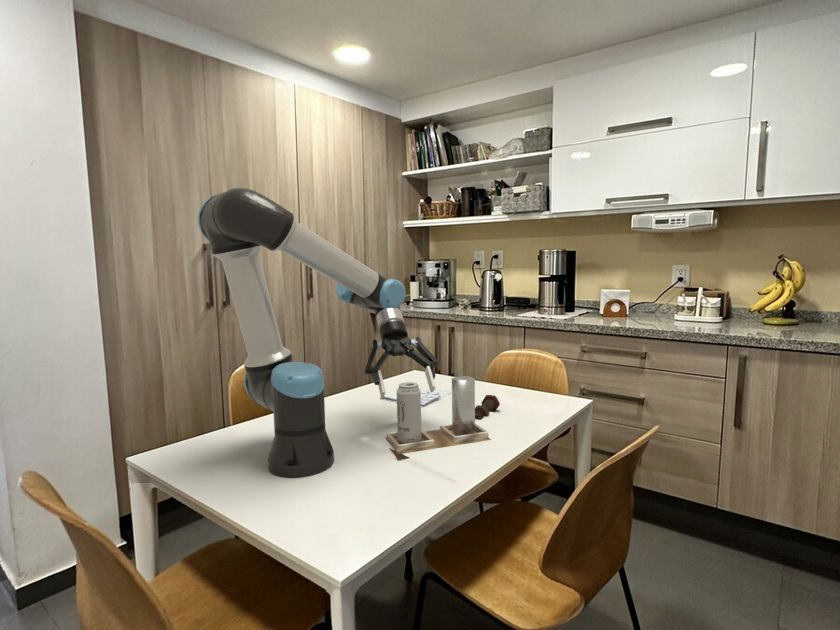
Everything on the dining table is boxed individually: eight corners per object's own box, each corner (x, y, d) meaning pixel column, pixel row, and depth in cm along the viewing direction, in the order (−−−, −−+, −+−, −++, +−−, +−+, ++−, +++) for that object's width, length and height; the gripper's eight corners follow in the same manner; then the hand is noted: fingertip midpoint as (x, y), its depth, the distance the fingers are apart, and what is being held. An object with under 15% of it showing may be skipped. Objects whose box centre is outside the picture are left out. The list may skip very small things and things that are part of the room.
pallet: (398, 460, 114) (398, 448, 113) (384, 442, 125) (384, 431, 125) (491, 445, 122) (491, 433, 122) (470, 430, 133) (470, 419, 133)
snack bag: (378, 400, 166) (378, 394, 166) (412, 387, 183) (412, 382, 182) (422, 409, 155) (422, 402, 155) (455, 394, 172) (455, 389, 171)
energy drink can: (393, 441, 122) (391, 384, 120) (412, 436, 125) (411, 380, 124) (406, 448, 117) (405, 389, 115) (426, 442, 120) (425, 384, 119)
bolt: (473, 430, 139) (489, 413, 152) (487, 424, 137) (502, 407, 150) (463, 412, 139) (480, 397, 153) (477, 406, 137) (493, 391, 150)
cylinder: (463, 440, 122) (463, 383, 120) (447, 434, 126) (446, 378, 125) (479, 434, 125) (479, 379, 124) (463, 428, 130) (463, 375, 128)
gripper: (429, 332, 142) (449, 394, 130) (347, 337, 134) (359, 404, 122) (436, 316, 137) (457, 380, 125) (350, 321, 129) (363, 389, 117)
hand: (408, 392), depth 123 cm, fingers open, 13 cm apart
